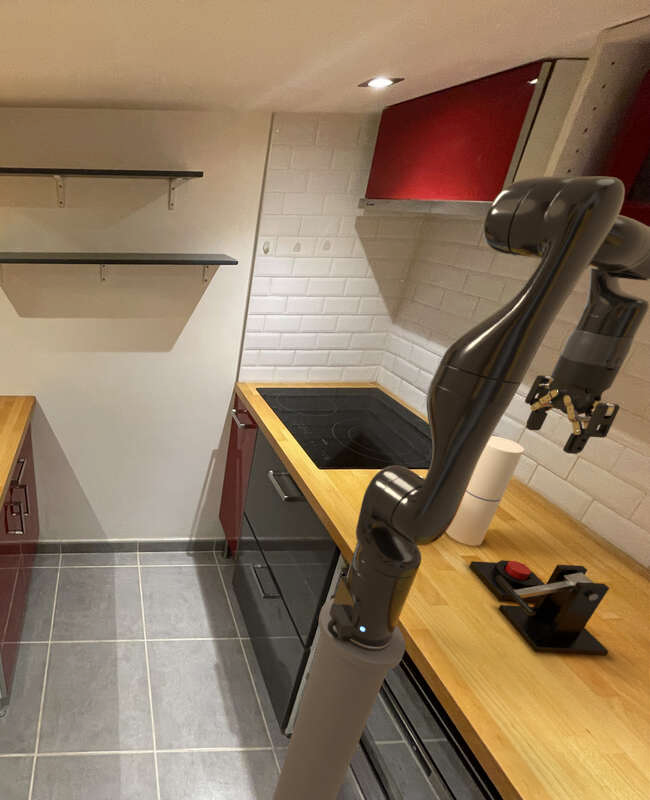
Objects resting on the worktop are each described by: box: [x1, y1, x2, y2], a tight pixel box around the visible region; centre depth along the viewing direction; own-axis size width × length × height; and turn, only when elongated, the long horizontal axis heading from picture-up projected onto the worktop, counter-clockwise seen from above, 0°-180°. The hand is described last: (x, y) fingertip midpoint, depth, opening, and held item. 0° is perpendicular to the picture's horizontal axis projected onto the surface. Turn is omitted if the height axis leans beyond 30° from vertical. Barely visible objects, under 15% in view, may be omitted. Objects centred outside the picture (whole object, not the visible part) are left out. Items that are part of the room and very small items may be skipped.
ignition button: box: [505, 560, 532, 580], centre depth 91 cm, size 4×4×2 cm
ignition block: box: [468, 559, 547, 604], centre depth 92 cm, size 11×9×4 cm
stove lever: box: [495, 572, 594, 616], centre depth 78 cm, size 12×8×2 cm
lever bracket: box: [498, 564, 610, 657], centre depth 79 cm, size 12×9×14 cm
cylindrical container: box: [445, 435, 525, 547], centre depth 101 cm, size 7×7×25 cm
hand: (550, 440), depth 82 cm, fingers open, 8 cm apart
